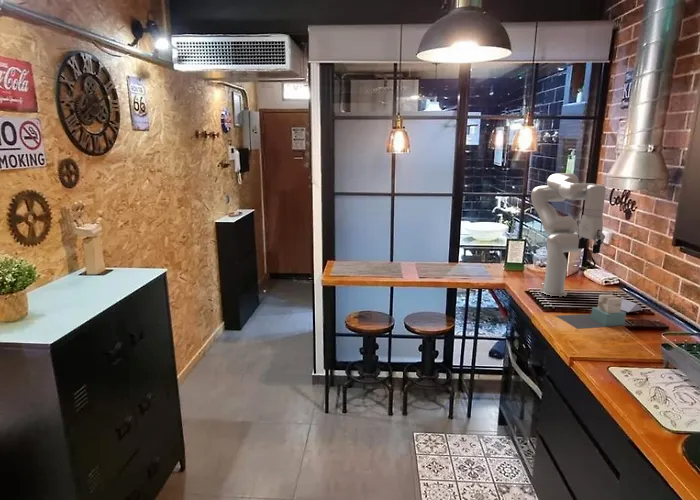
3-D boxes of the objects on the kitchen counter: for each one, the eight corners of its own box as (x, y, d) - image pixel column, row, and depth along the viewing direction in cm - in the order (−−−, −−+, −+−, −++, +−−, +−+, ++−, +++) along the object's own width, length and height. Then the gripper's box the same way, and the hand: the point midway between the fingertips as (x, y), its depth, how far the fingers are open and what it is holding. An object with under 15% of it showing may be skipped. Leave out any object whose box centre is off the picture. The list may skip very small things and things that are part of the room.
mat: (555, 317, 202) (555, 315, 202) (604, 315, 206) (604, 313, 206) (577, 331, 188) (577, 328, 187) (629, 327, 191) (629, 325, 191)
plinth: (590, 318, 199) (592, 307, 198) (609, 317, 201) (610, 306, 199) (605, 326, 190) (606, 314, 189) (624, 324, 192) (626, 313, 191)
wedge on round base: (641, 316, 205) (615, 307, 216) (643, 302, 203) (617, 293, 215) (627, 319, 201) (601, 309, 213) (629, 304, 200) (603, 296, 212)
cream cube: (597, 308, 197) (599, 295, 196) (609, 307, 198) (611, 294, 197) (607, 313, 191) (609, 299, 190) (620, 312, 192) (621, 298, 191)
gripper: (573, 210, 210) (568, 247, 214) (598, 216, 193) (593, 255, 197) (587, 210, 211) (583, 246, 215) (614, 215, 195) (609, 254, 198)
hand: (588, 250), depth 206 cm, fingers open, 9 cm apart
